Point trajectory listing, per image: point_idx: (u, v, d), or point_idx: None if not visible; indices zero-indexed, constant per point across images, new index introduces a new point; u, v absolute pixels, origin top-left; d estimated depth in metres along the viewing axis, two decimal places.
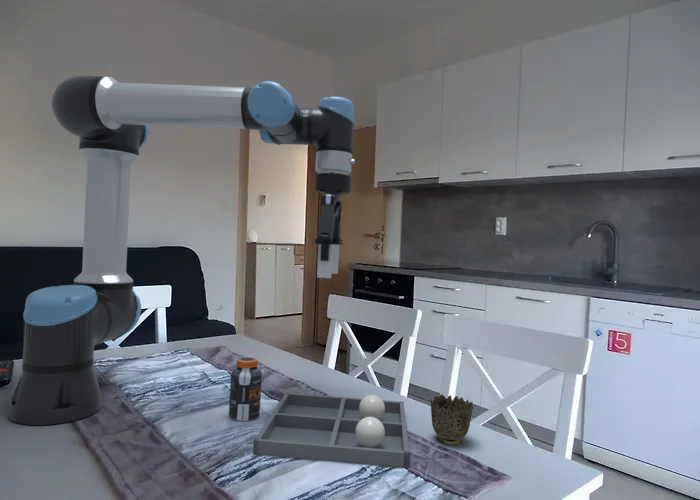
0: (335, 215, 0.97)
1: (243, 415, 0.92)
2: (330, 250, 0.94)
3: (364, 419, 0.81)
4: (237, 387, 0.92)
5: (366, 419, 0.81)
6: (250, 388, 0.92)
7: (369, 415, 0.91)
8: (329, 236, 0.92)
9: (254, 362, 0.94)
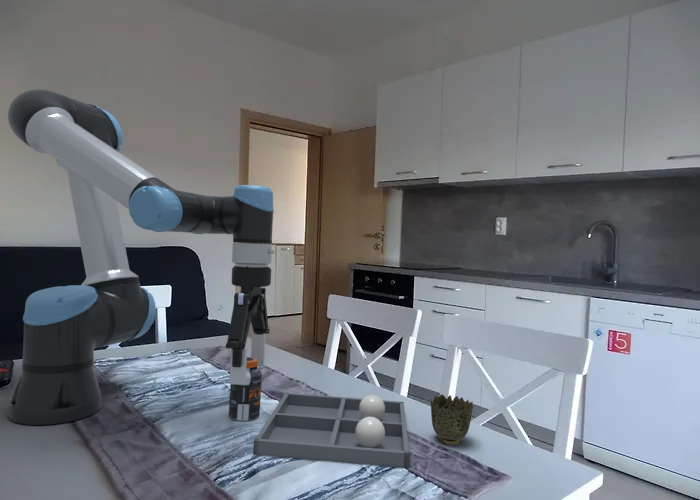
0: (251, 313, 0.91)
1: (243, 415, 0.92)
2: (243, 354, 0.87)
3: (364, 419, 0.81)
4: (237, 387, 0.92)
5: (366, 419, 0.81)
6: (250, 388, 0.92)
7: (369, 415, 0.91)
8: (239, 343, 0.85)
9: (254, 362, 0.94)
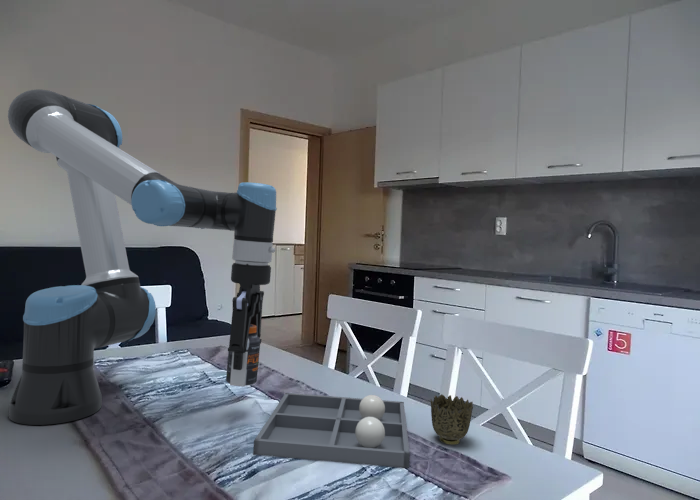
0: (250, 315, 0.92)
1: None
2: (244, 358, 0.91)
3: (364, 419, 0.81)
4: None
5: (366, 419, 0.81)
6: (248, 353, 0.92)
7: (369, 415, 0.91)
8: (240, 348, 0.88)
9: (253, 328, 0.94)
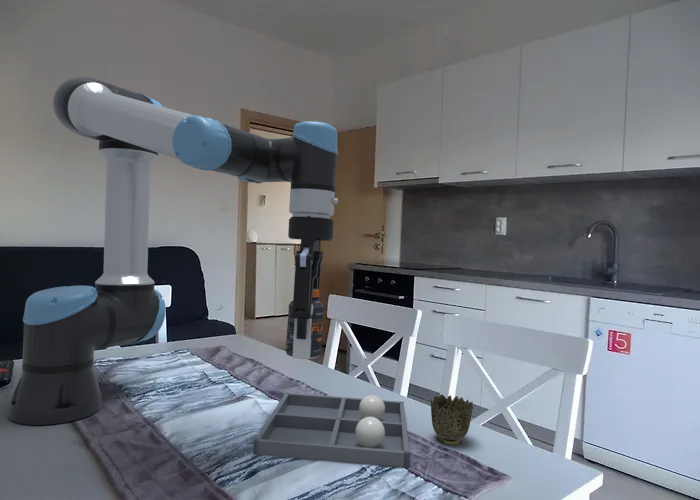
0: (313, 275, 0.79)
1: None
2: (308, 325, 0.78)
3: (364, 419, 0.81)
4: None
5: (366, 419, 0.81)
6: (312, 320, 0.79)
7: (369, 415, 0.91)
8: (306, 313, 0.75)
9: (316, 291, 0.81)
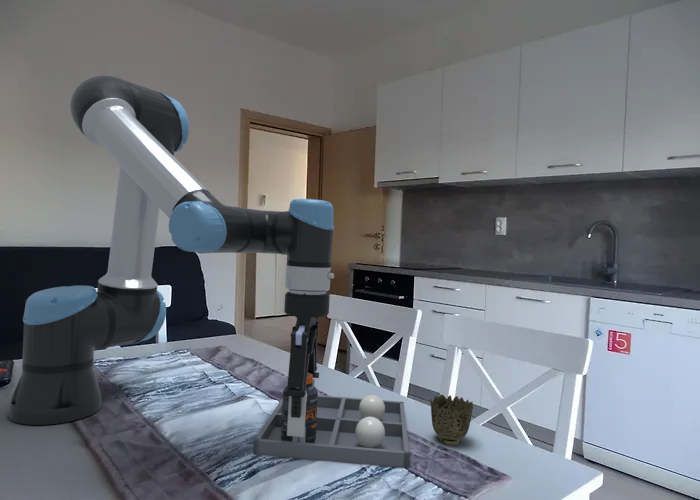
0: (309, 352, 0.79)
1: (299, 439, 0.79)
2: (303, 403, 0.77)
3: (364, 419, 0.81)
4: None
5: (366, 419, 0.81)
6: (306, 408, 0.80)
7: (369, 415, 0.91)
8: (301, 392, 0.74)
9: (310, 378, 0.81)
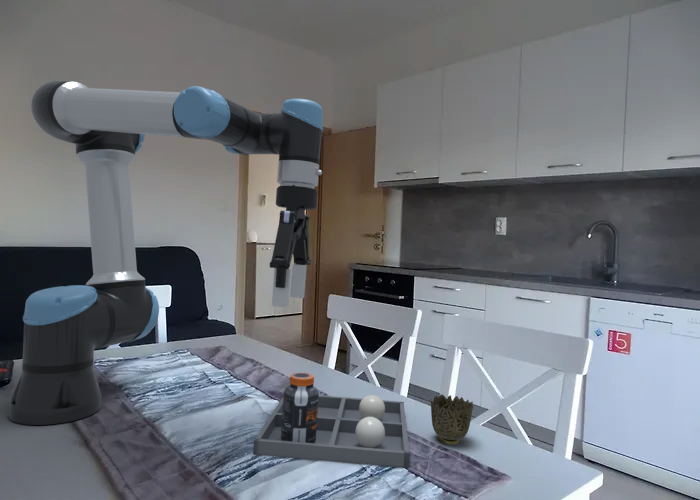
0: (296, 234, 0.85)
1: (299, 440, 0.79)
2: (287, 275, 0.82)
3: (364, 419, 0.81)
4: (292, 408, 0.79)
5: (366, 419, 0.81)
6: (307, 409, 0.80)
7: (369, 415, 0.91)
8: (284, 260, 0.79)
9: (311, 379, 0.81)
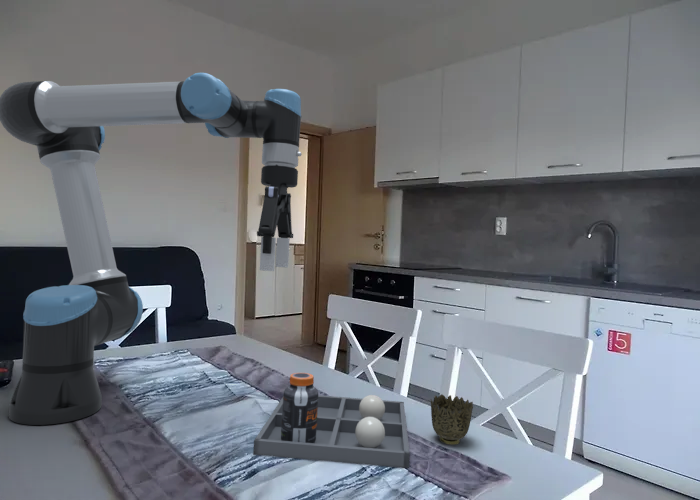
0: (279, 208, 0.97)
1: (299, 440, 0.79)
2: (273, 243, 0.94)
3: (364, 419, 0.81)
4: (292, 408, 0.79)
5: (366, 419, 0.81)
6: (307, 409, 0.80)
7: (369, 415, 0.91)
8: (270, 228, 0.91)
9: (311, 379, 0.81)
